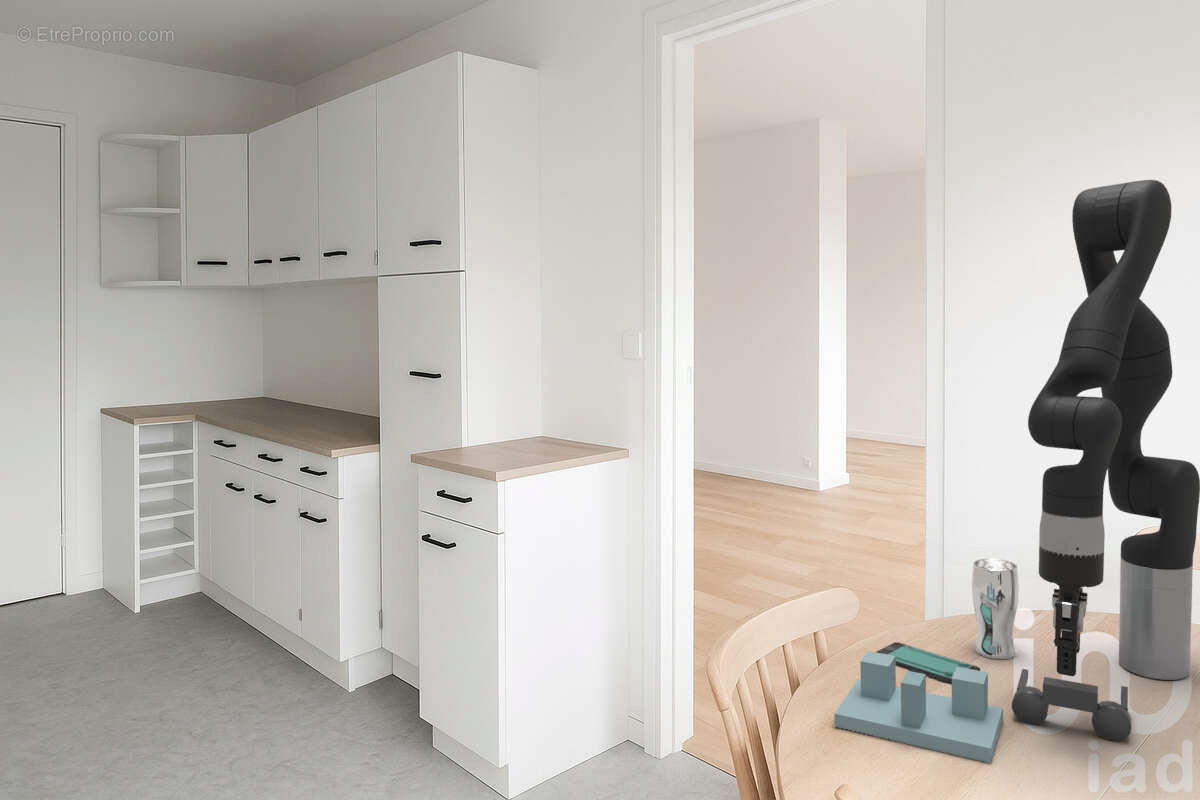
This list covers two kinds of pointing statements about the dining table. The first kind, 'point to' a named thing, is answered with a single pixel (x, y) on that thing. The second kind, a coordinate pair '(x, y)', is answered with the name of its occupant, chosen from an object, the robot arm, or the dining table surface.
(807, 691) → the dining table surface
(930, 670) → the smartphone
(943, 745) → the stand
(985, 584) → the beer glass
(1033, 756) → the dining table surface
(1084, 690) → the glasses
